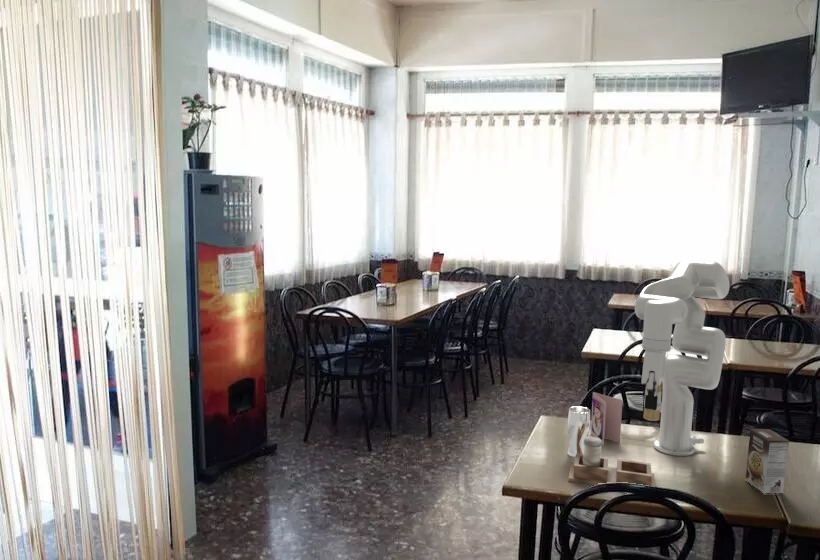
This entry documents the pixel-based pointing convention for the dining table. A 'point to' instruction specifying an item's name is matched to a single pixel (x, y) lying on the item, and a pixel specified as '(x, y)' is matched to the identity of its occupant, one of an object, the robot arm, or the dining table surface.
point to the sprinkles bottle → (654, 414)
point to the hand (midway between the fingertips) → (651, 405)
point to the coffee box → (767, 460)
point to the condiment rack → (597, 471)
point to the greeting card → (606, 417)
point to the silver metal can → (578, 429)
